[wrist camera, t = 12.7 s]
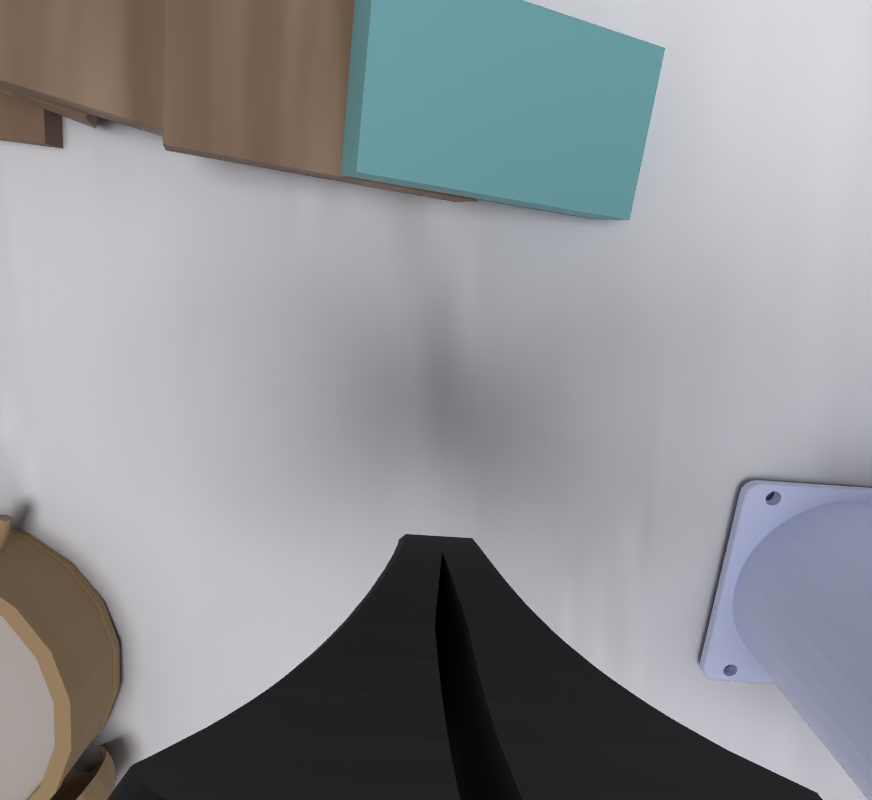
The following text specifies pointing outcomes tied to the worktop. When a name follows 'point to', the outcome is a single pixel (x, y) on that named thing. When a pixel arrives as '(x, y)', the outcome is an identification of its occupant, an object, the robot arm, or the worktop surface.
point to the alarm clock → (52, 673)
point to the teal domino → (498, 104)
